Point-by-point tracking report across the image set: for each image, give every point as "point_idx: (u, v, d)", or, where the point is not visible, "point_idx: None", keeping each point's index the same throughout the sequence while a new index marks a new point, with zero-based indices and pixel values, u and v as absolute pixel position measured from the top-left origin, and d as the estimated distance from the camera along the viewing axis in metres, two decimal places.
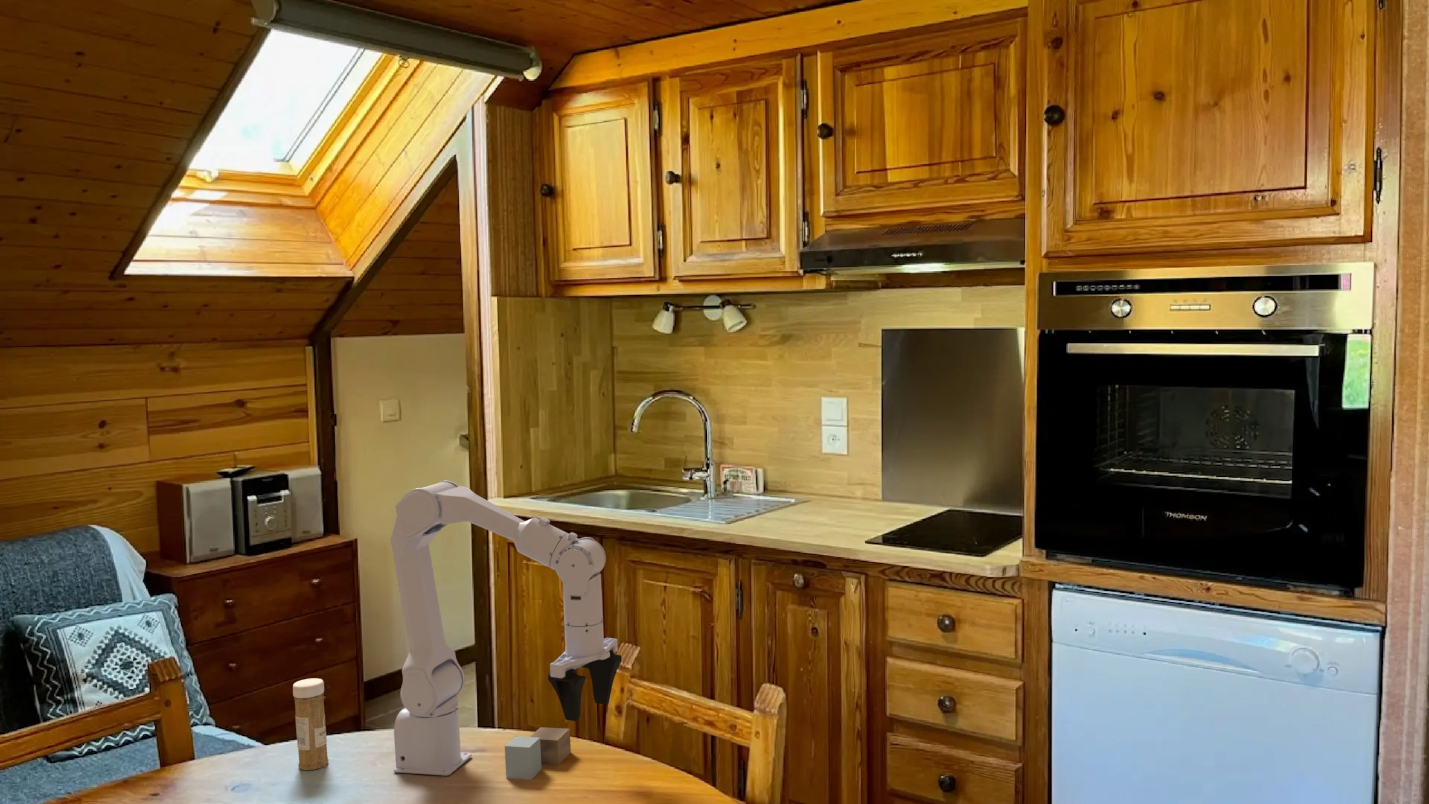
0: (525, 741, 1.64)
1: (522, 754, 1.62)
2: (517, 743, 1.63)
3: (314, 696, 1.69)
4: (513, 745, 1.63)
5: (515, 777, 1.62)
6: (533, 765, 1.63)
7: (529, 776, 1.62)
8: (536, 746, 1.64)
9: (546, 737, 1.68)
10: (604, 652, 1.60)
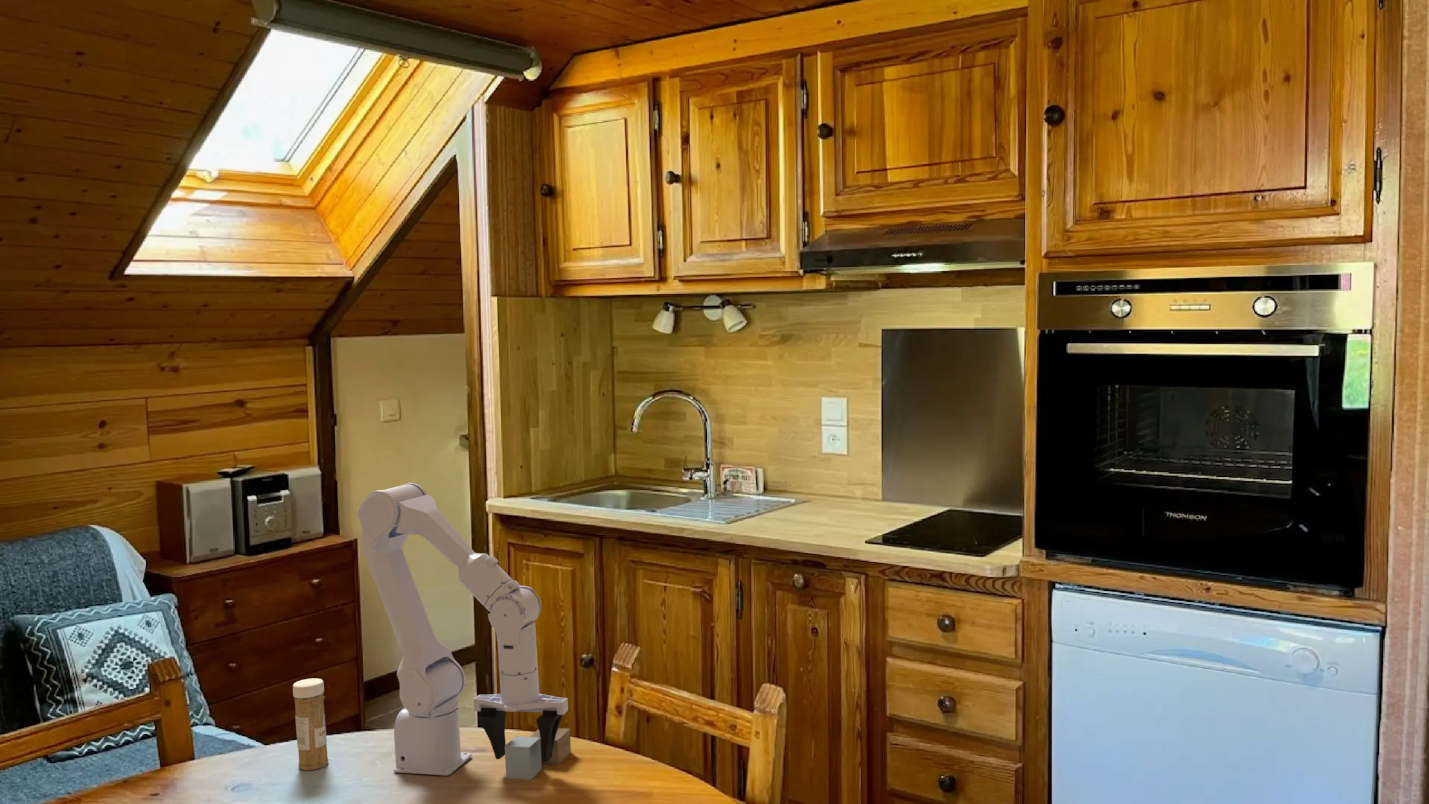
0: (525, 741, 1.64)
1: (522, 754, 1.62)
2: (517, 743, 1.63)
3: (314, 696, 1.69)
4: (513, 745, 1.63)
5: (515, 777, 1.62)
6: (533, 765, 1.63)
7: (529, 776, 1.62)
8: (536, 746, 1.64)
9: None
10: (514, 705, 1.60)
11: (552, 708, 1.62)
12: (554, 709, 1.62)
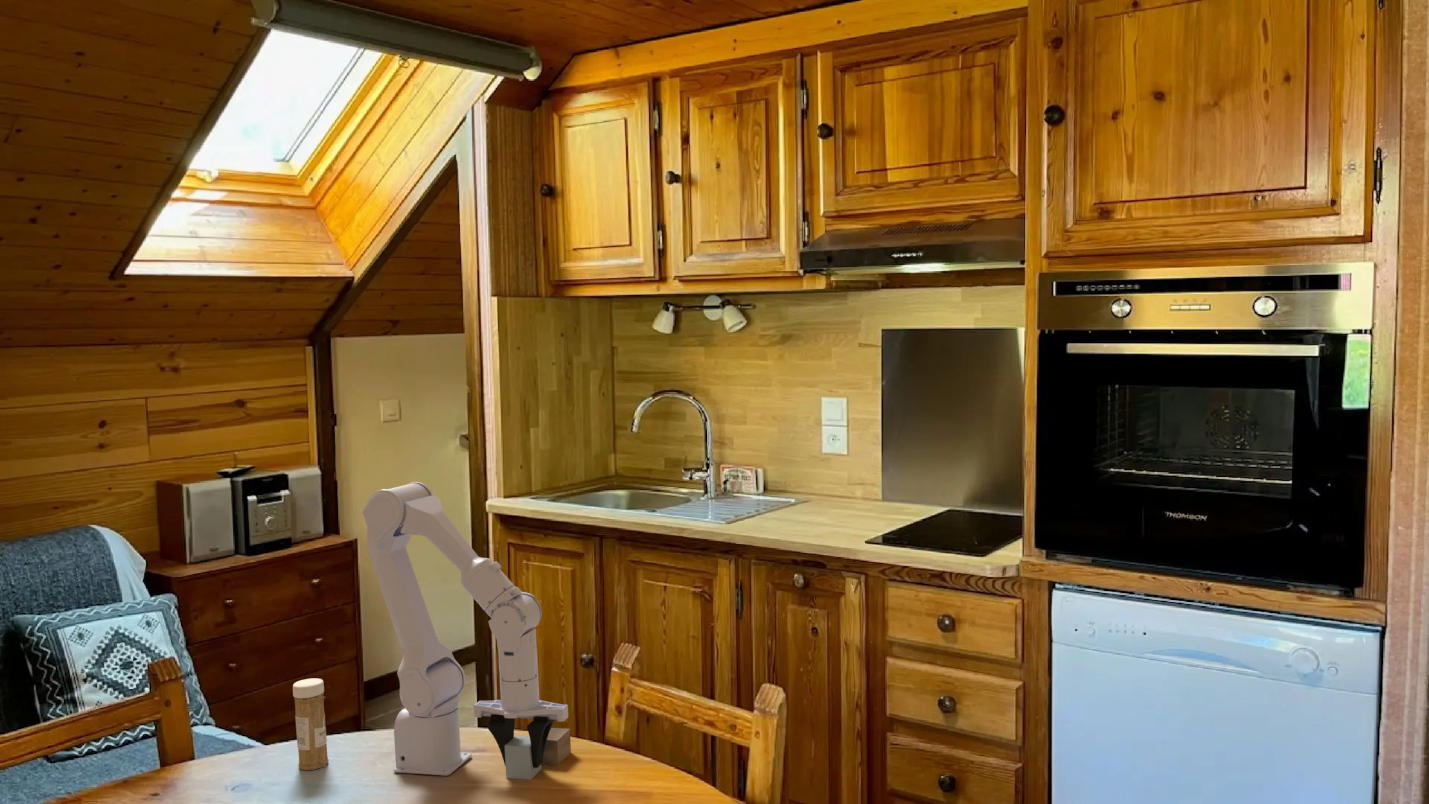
0: (525, 741, 1.64)
1: (522, 754, 1.62)
2: (517, 743, 1.63)
3: (314, 696, 1.69)
4: (513, 744, 1.63)
5: (515, 777, 1.62)
6: None
7: (529, 775, 1.62)
8: None
9: None
10: (514, 712, 1.60)
11: (552, 715, 1.62)
12: (554, 716, 1.62)
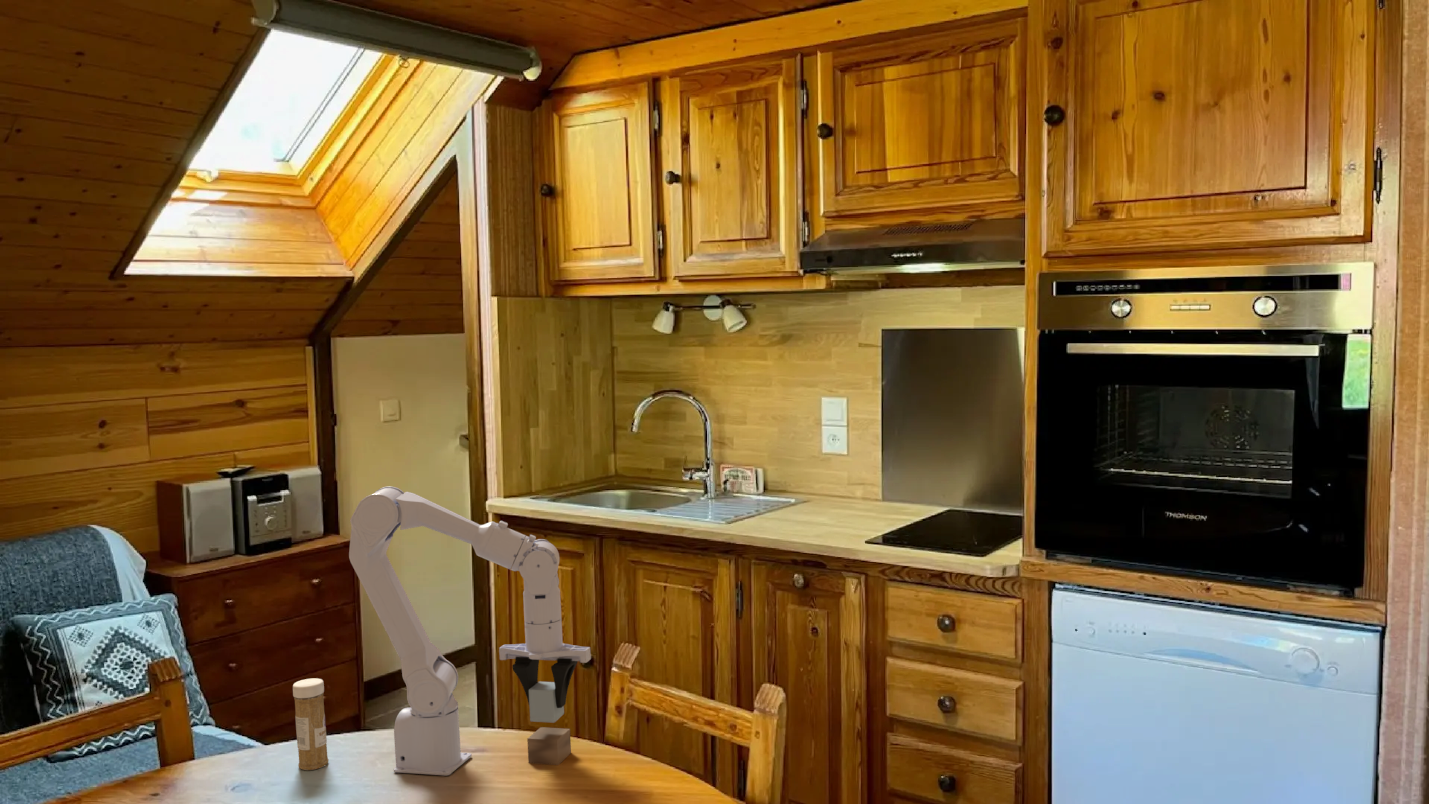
0: (548, 686, 1.69)
1: (545, 698, 1.67)
2: (540, 687, 1.68)
3: (314, 696, 1.69)
4: (537, 688, 1.68)
5: (539, 720, 1.68)
6: (556, 708, 1.68)
7: (552, 719, 1.67)
8: None
9: (545, 737, 1.68)
10: (538, 653, 1.66)
11: (575, 657, 1.68)
12: (577, 657, 1.68)
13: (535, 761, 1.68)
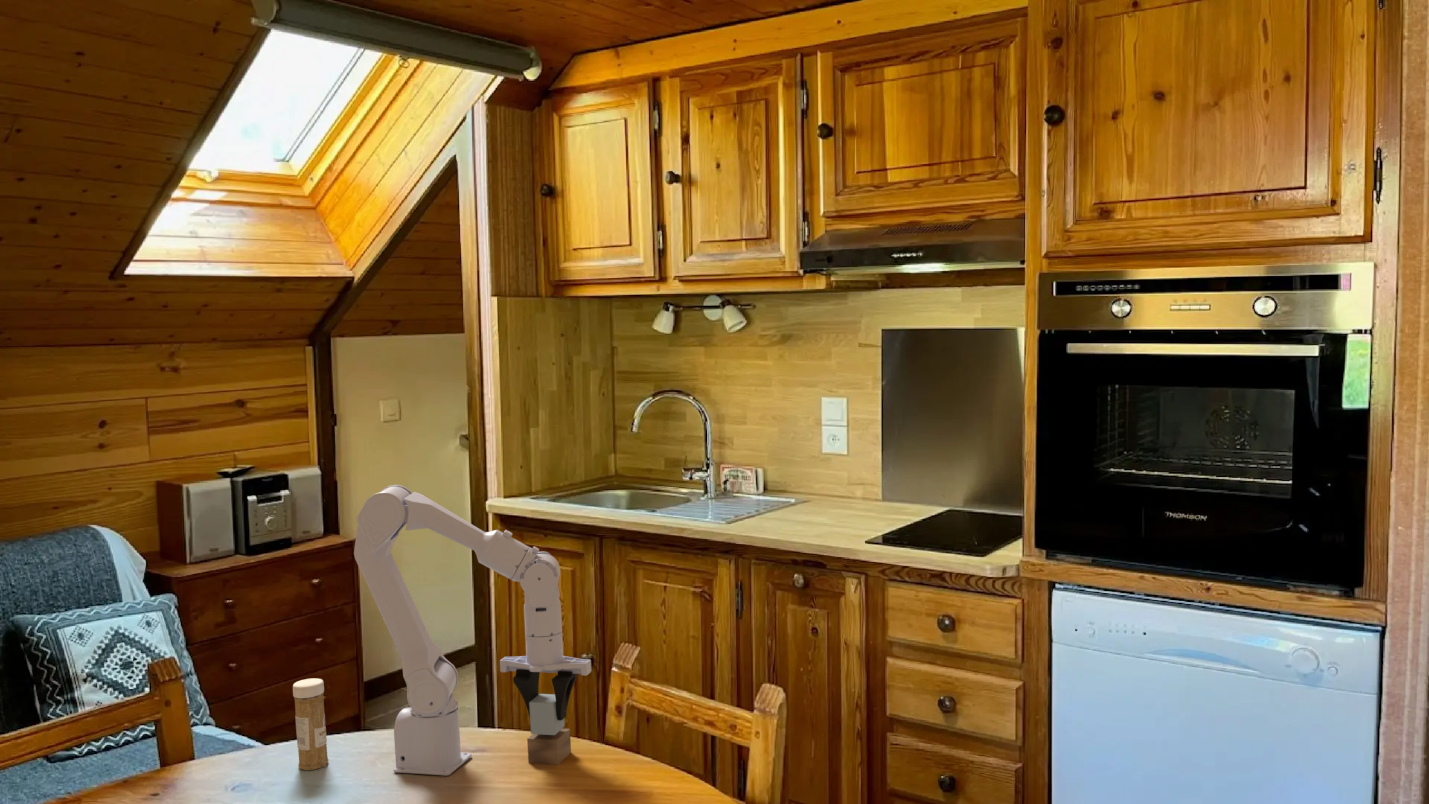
0: (549, 698, 1.69)
1: (546, 710, 1.67)
2: (541, 700, 1.69)
3: (314, 696, 1.69)
4: (537, 701, 1.68)
5: (539, 732, 1.68)
6: (557, 721, 1.68)
7: (553, 731, 1.67)
8: None
9: (545, 737, 1.68)
10: (539, 666, 1.66)
11: (576, 669, 1.68)
12: (578, 670, 1.68)
13: (535, 761, 1.68)
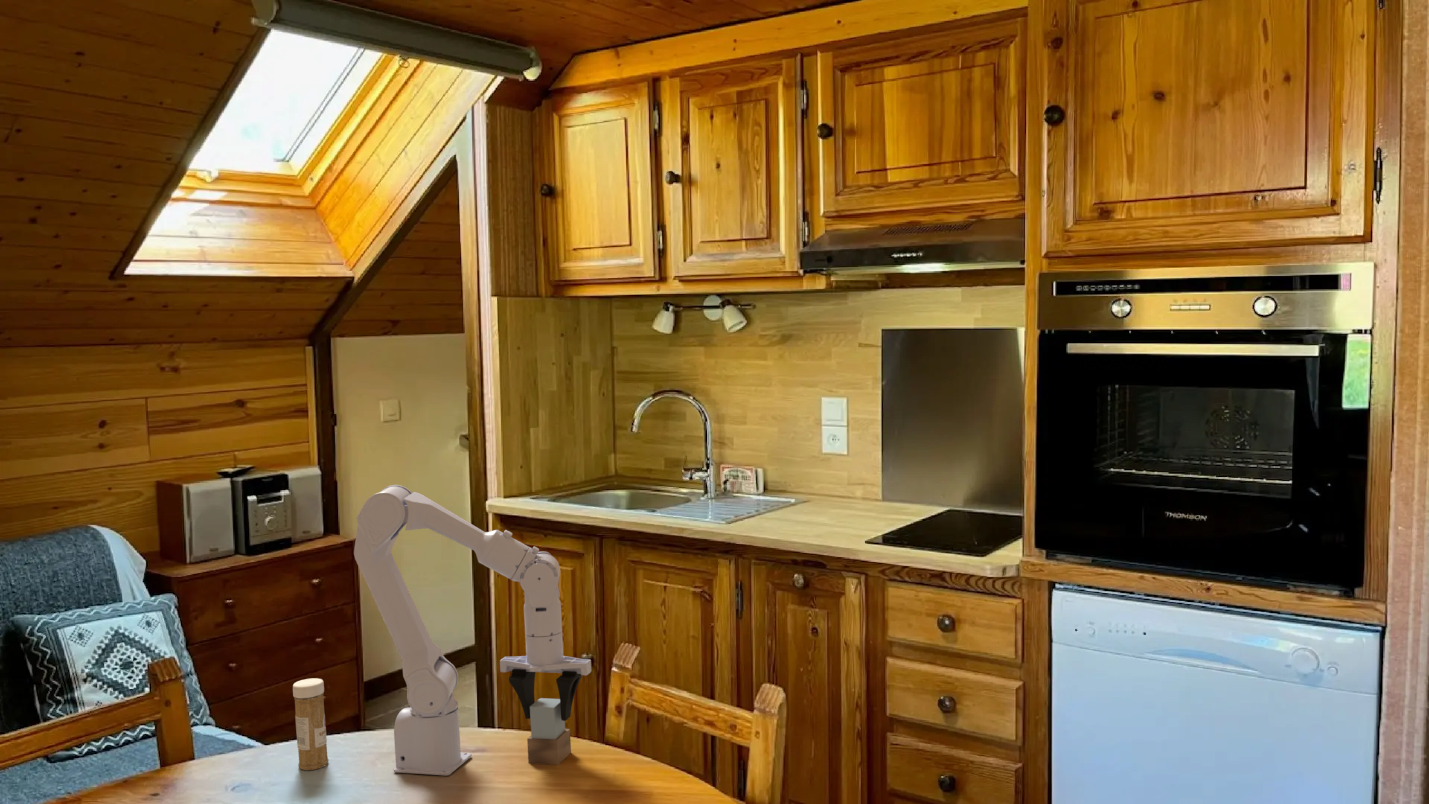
0: (549, 702, 1.69)
1: (547, 714, 1.67)
2: (541, 704, 1.69)
3: (314, 696, 1.69)
4: (538, 705, 1.68)
5: (540, 737, 1.68)
6: (557, 725, 1.68)
7: (554, 735, 1.67)
8: None
9: None
10: (539, 666, 1.66)
11: (576, 669, 1.68)
12: (578, 670, 1.68)
13: (535, 761, 1.68)
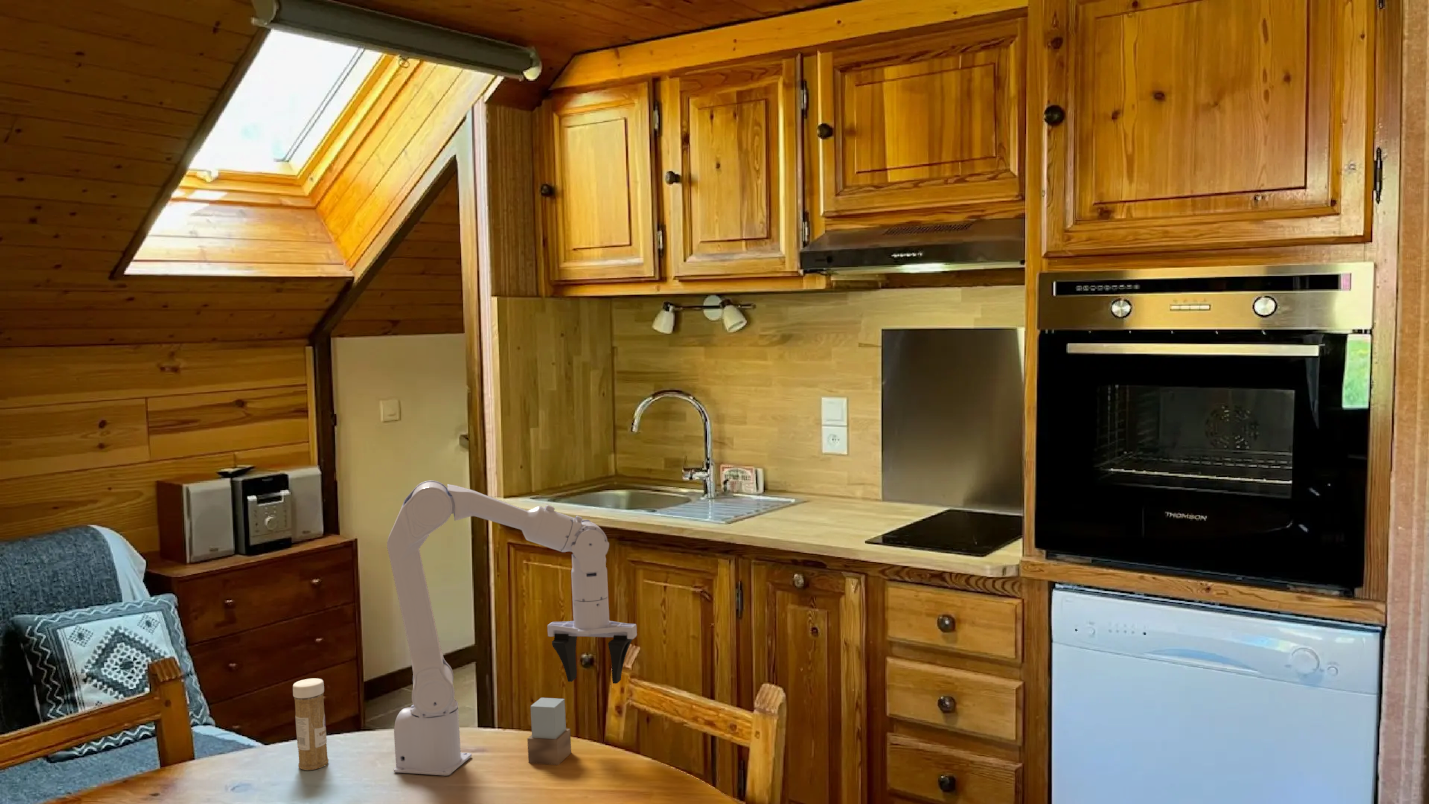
0: (550, 702, 1.70)
1: (547, 714, 1.68)
2: (542, 704, 1.69)
3: (314, 696, 1.69)
4: (538, 705, 1.68)
5: (540, 736, 1.68)
6: (558, 725, 1.68)
7: (554, 735, 1.68)
8: (561, 707, 1.70)
9: None
10: (587, 630, 1.71)
11: (622, 633, 1.73)
12: (624, 634, 1.72)
13: (535, 761, 1.68)
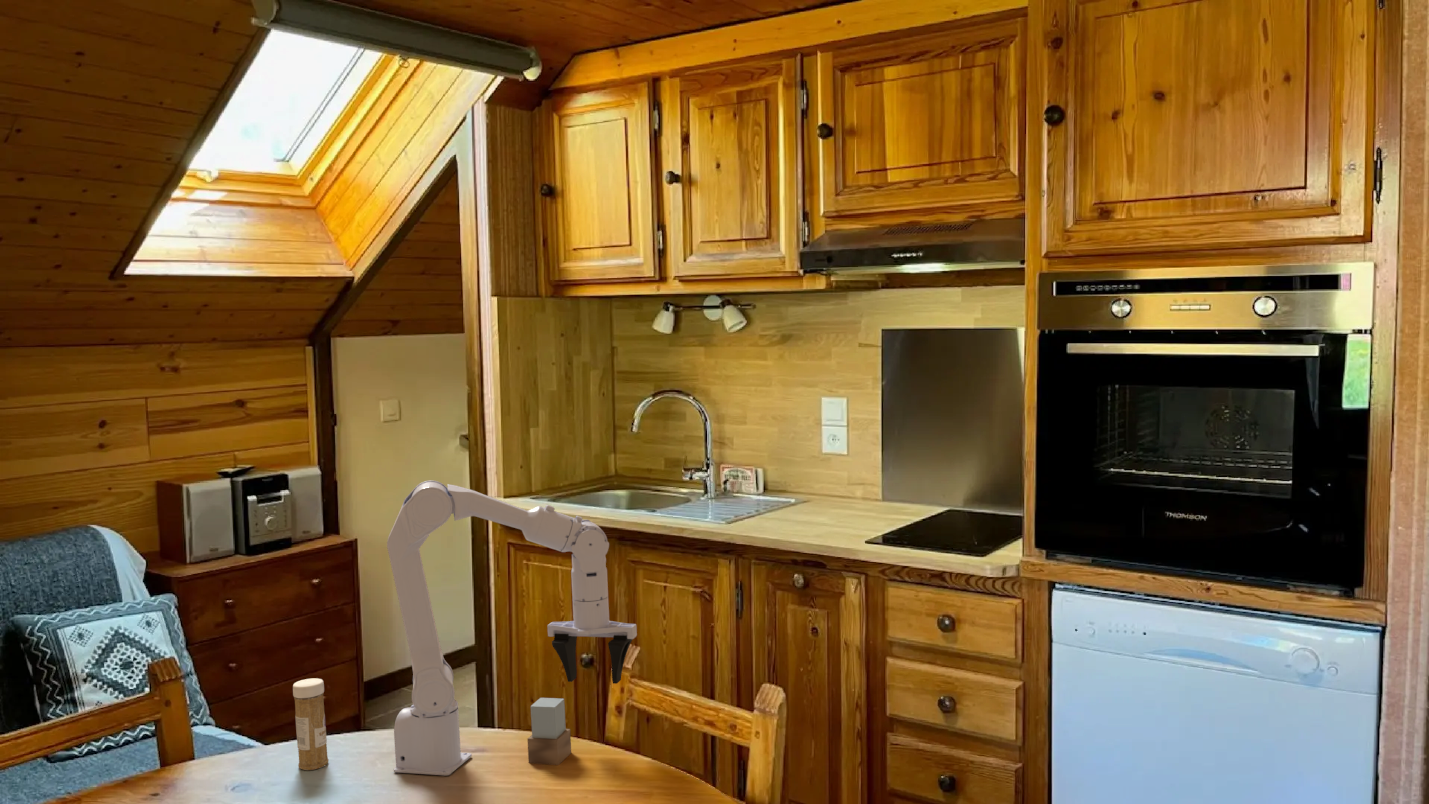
0: (550, 702, 1.70)
1: (547, 714, 1.68)
2: (542, 704, 1.69)
3: (314, 696, 1.69)
4: (538, 705, 1.69)
5: (541, 736, 1.68)
6: (558, 725, 1.69)
7: (554, 735, 1.68)
8: (561, 706, 1.70)
9: None
10: (587, 630, 1.71)
11: (622, 633, 1.73)
12: (624, 634, 1.72)
13: (535, 761, 1.68)
